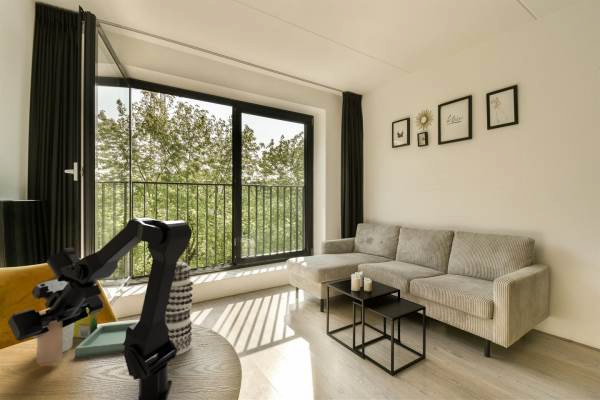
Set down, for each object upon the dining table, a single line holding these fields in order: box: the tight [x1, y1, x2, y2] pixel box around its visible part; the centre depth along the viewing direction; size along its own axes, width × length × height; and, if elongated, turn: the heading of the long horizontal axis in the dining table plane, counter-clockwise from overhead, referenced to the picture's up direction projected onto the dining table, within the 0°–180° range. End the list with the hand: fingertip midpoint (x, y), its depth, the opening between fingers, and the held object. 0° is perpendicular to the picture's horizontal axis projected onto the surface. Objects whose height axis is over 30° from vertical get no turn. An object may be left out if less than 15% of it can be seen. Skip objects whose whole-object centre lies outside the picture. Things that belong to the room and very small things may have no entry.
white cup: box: [63, 323, 75, 353], centre depth 80 cm, size 8×8×10 cm
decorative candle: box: [164, 261, 194, 356], centre depth 81 cm, size 9×9×25 cm
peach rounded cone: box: [36, 307, 64, 365], centre depth 72 cm, size 5×5×12 cm
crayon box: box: [73, 308, 98, 339], centre depth 89 cm, size 7×3×12 cm, turn 81°
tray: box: [74, 321, 139, 359], centre depth 85 cm, size 15×15×3 cm
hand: (46, 332), depth 72 cm, fingers closed on peach rounded cone, 5 cm apart
